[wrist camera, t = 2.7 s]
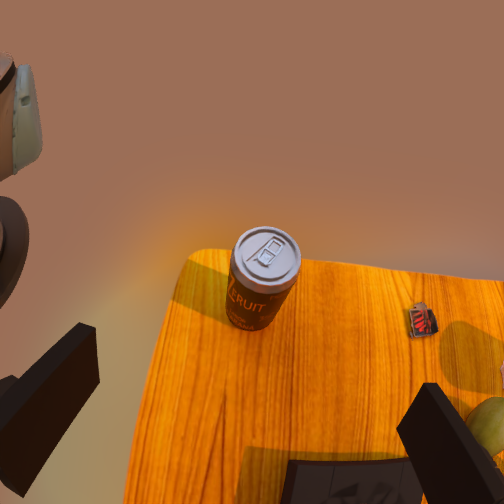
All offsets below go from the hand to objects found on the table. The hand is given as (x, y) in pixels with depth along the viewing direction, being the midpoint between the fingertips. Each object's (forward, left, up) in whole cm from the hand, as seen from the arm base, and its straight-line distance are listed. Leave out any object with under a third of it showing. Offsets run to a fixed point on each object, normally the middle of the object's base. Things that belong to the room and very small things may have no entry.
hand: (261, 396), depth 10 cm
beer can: (0, +11, -20) cm, 22 cm away
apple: (+32, -2, -20) cm, 38 cm away
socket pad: (+14, -12, -20) cm, 27 cm away
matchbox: (+22, +13, -20) cm, 32 cm away
